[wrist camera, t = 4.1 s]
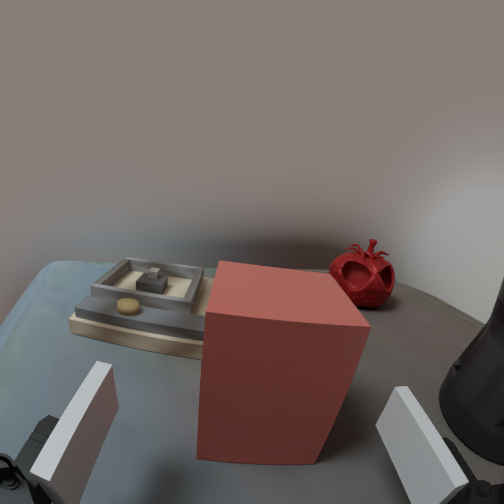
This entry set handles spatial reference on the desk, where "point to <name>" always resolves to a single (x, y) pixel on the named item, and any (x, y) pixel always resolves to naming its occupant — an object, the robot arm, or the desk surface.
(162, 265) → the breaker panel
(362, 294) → the pomegranate
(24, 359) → the desk surface
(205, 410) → the tall red rectangular block
